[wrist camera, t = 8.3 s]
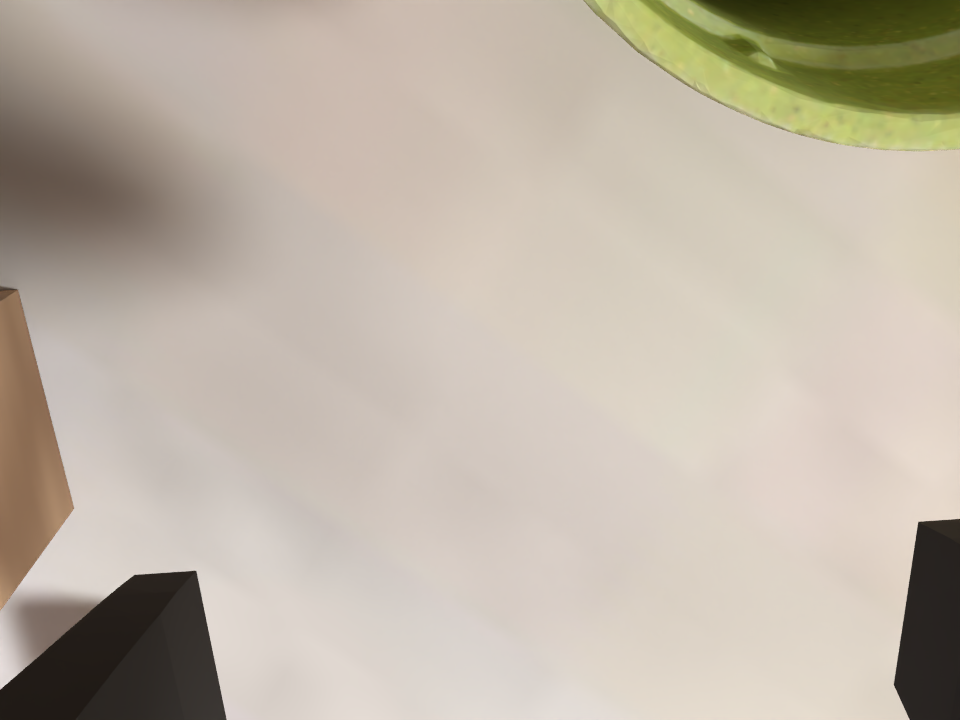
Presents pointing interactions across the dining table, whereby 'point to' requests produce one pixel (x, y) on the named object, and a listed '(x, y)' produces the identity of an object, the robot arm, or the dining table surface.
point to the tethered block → (25, 454)
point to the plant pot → (812, 63)
